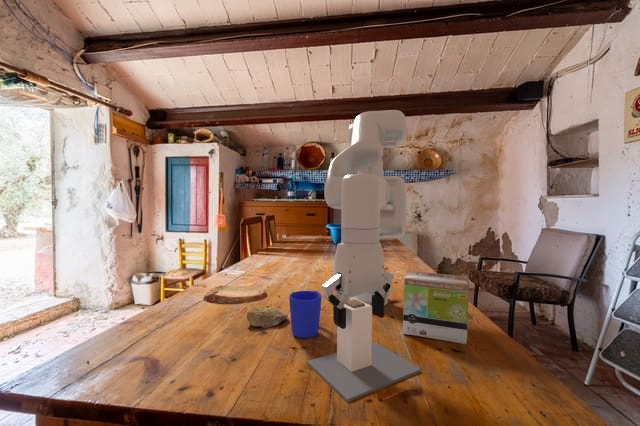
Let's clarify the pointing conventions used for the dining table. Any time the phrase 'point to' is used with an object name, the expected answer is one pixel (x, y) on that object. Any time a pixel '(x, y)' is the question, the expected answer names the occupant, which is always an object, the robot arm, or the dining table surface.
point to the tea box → (436, 306)
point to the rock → (265, 317)
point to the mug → (305, 313)
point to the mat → (363, 373)
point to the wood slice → (234, 294)
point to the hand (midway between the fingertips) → (359, 320)
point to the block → (355, 336)
